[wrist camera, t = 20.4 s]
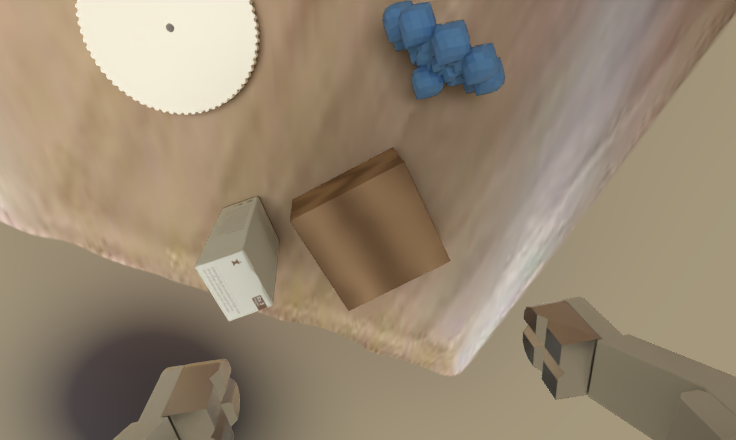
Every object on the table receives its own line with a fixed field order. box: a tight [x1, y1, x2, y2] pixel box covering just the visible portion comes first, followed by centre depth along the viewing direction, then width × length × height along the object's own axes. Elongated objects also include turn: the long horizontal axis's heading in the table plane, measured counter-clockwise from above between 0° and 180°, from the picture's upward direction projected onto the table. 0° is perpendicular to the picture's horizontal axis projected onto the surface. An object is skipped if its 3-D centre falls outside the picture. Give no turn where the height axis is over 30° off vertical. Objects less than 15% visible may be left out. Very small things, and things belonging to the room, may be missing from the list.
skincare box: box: [195, 197, 279, 321], centre depth 37 cm, size 6×4×12 cm
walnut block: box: [290, 148, 450, 311], centre depth 41 cm, size 12×12×6 cm
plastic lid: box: [75, 0, 260, 115], centre depth 33 cm, size 14×14×2 cm
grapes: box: [382, 1, 505, 100], centre depth 32 cm, size 12×7×12 cm, turn 61°
